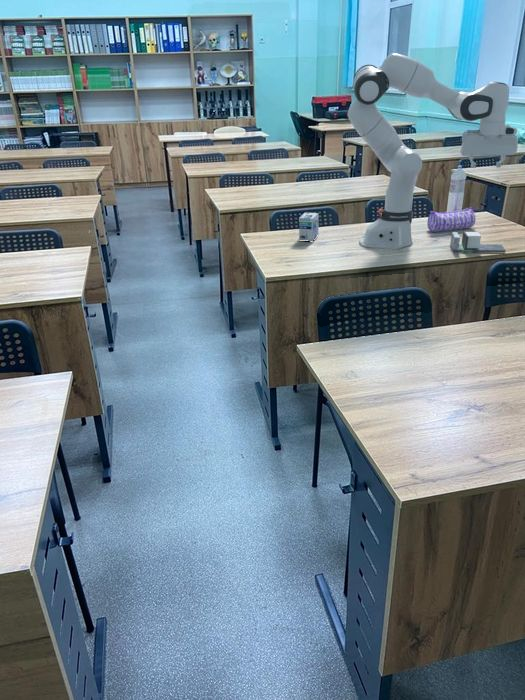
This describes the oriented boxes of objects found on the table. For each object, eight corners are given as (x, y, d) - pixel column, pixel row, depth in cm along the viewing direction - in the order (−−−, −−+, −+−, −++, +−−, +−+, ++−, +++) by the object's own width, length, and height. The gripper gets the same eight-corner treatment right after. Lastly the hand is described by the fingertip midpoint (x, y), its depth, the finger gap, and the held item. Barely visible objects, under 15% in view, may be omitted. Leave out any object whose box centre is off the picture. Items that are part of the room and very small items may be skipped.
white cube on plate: (465, 249, 210) (466, 236, 207) (461, 242, 217) (463, 231, 215) (479, 249, 209) (481, 236, 206) (475, 243, 216) (477, 231, 214)
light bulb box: (313, 242, 231) (313, 218, 226) (298, 241, 234) (298, 217, 228) (318, 236, 240) (319, 212, 235) (304, 235, 242) (304, 212, 237)
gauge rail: (452, 252, 211) (454, 237, 208) (449, 246, 218) (451, 232, 215) (505, 253, 208) (508, 237, 205) (500, 247, 215) (503, 232, 212)
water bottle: (461, 220, 254) (468, 166, 242) (446, 220, 255) (453, 167, 244) (459, 217, 260) (466, 164, 248) (445, 217, 261) (451, 164, 250)
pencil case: (464, 224, 248) (466, 204, 244) (477, 229, 240) (480, 208, 236) (424, 230, 242) (426, 209, 238) (436, 235, 234) (438, 214, 230)
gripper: (464, 131, 197) (459, 169, 204) (521, 129, 194) (515, 168, 200) (461, 129, 203) (456, 166, 209) (517, 127, 199) (510, 165, 206)
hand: (485, 167), depth 205 cm, fingers open, 8 cm apart
